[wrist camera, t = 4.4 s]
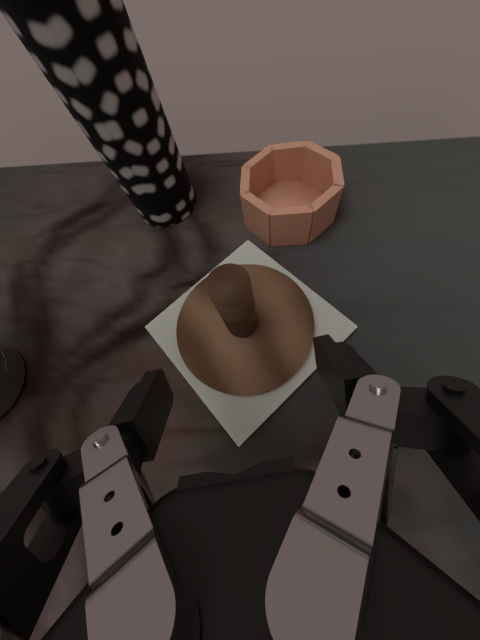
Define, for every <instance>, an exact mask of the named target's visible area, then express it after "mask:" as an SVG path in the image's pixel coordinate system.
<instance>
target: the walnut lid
mask: <svg viewBox="0 0 480 640" xmlns="http://www.w3.org/2000/svg"><path fill="white" fill-rule="evenodd" d="M176 337H177V344H178V349H179V352H180V355H181V357H182V359H183V361H184V363H185V365H186V366H187V368H188V369H189V371H190V372H191V373H192V374H193V375H194V376H195V377H196V378H197V379H198V380H199V381H201V382H202V383H203V384H205V385H207V386H208V387H210V388H212V389H214V390H217V391H219V392H222V393H225V394H229V395H235V396H253V395H259V394H263V393H266V392H269V391H271V390H273V389H276V388H278V387H279V386H281V385H283V384H284V383H286V382H287V381H288V380H289V379H290V378H292V377H293V376H294V375H295V374H296V372H297V371H298V370H299V369H300V368H301V366H302V364H303V363H304V361H305V360H306V358H307V356H308V353H309V351H310V349H311V346H312V342H313V337H314V316H313V311H312V308H311V305H310V303H309V300H308V298H307V296H306V295H305V293H304V292H303V290H302V289H301V288H300V287H299V286H298V284H297V283H296V282H294V281H293V280H292V279H291V278H290V277H288V276H287V275H285V274H284V273H282V272H280V271H278V270H276V269H273V268H270V267H267V266H263V265H256V264H241V265H238V264H233V263H227V264H223V265H220V266H218V267H216V268H215V269H213V270H212V271H211V272H210V274H209V275H208V276H207V277H206V278H205V279H203V280H202V281H201V282H200V283H199V284H198V285H196V286H195V287H194V289H193V290H192V291H191V292H190V293H189V295H188V296H187V298H186V299H185V301H184V303H183V305H182V307H181V310H180V313H179V316H178V321H177V328H176Z"/></svg>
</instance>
